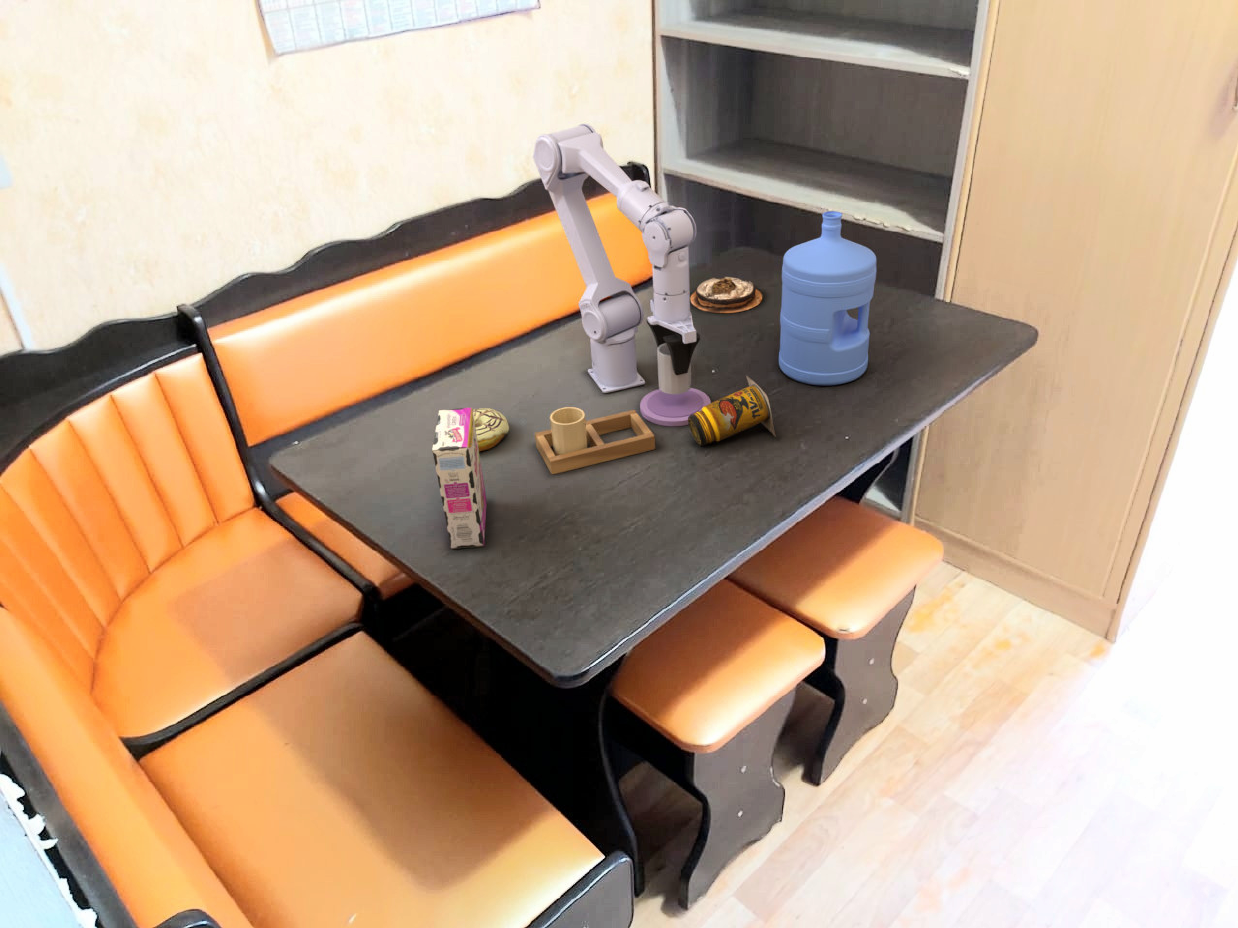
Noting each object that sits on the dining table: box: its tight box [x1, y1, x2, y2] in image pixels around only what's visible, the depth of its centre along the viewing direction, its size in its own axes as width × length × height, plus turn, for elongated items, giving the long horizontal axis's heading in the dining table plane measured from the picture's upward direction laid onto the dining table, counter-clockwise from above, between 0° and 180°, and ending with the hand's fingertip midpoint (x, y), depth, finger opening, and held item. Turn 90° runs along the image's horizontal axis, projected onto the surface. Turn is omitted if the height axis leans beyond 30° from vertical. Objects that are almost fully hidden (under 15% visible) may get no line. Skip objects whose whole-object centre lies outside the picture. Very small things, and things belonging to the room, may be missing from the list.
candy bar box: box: [432, 407, 488, 550], centre depth 128 cm, size 11×5×16 cm, turn 5°
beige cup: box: [549, 406, 589, 456], centre depth 145 cm, size 5×5×7 cm
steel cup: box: [656, 343, 692, 394], centre depth 152 cm, size 5×5×7 cm
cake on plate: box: [690, 276, 763, 314], centre depth 193 cm, size 15×15×4 cm
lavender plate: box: [639, 387, 712, 427], centre depth 156 cm, size 12×12×1 cm
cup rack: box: [534, 409, 656, 475], centre depth 147 cm, size 9×17×2 cm, turn 110°
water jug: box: [778, 210, 877, 387], centre depth 158 cm, size 16×16×28 cm
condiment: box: [688, 374, 777, 447], centre depth 146 cm, size 7×8×12 cm
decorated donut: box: [472, 407, 510, 452], centre depth 151 cm, size 10×11×4 cm
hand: (674, 365), depth 152 cm, fingers closed on steel cup, 5 cm apart
